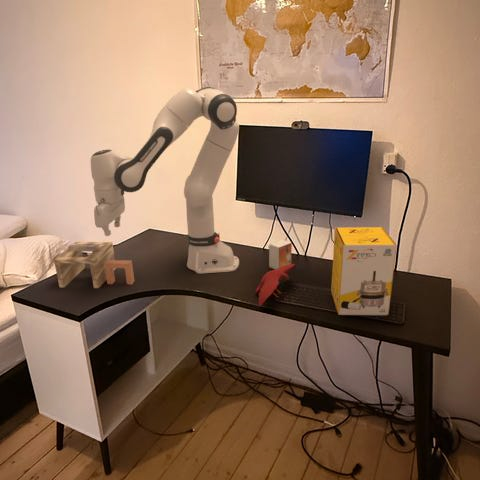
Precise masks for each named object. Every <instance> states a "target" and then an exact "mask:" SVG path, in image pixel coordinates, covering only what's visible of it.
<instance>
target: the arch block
mask: <svg viewBox="0 0 480 480" xmlns="http://www.w3.org/2000/svg"><path fill="white" fill-rule="evenodd" d="M104 266H105V272H106V278H107V280H106V282H107V283H106V284H107V285H113V284H114V283H115V281H116V276H115V272H114V271H115V270H113V268H116V269H124V272H125V279H126V285H133V284H134V283H135V275H134V267H133V260H131V259H130V260H124V259H121V260H120V259H119V260H117V259H115V260H107V261H106V262H105V263H104Z"/></svg>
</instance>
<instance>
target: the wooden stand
mask: <svg viewBox="0 0 480 480" xmlns="http://www.w3.org/2000/svg"><path fill="white" fill-rule="evenodd" d="M83 252H91V253H90V254H88V256H83ZM107 260H116V259H115V251H114V246H113V242H112V241H108V242H107V241H75V242H74V243H73V244H69V245H68V246H67V248H66V249H65V250H63V251H62V252H61V253H60V254H58V255H57V256H56V257H55V258H54V259H53V264H54V267H55V272H56V273H55V274H56V277H57V282H58V286H59V288H66V287H67V286H68V285H69V284H70V283H71V282H72V281H73V280H74V279H76V277H77V276H78V275H79V274H80V273H81V272H83V270H84V269H85V268H86V265H85V264H89V267H90V268H89V269H90V274H91V279H92V284H93V285H92V286H93V289H100V288H101V286H102V285H103V284H104V283H105V282H107V278H106V272H105V266H104V263H105V262H106V261H107ZM116 269H117V268H113V270H114V271H115V270H116Z"/></svg>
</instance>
